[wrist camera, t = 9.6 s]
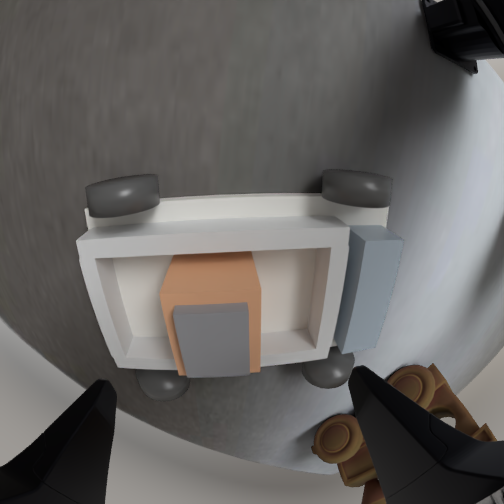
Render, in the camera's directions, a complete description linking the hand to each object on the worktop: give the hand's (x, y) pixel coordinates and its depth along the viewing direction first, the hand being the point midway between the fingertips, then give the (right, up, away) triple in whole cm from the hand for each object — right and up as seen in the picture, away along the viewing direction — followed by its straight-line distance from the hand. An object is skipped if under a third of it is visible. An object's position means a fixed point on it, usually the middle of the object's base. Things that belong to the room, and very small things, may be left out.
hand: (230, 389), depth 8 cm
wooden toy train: (+18, -16, +21) cm, 32 cm away
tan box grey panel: (-2, +2, +10) cm, 10 cm away
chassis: (0, +3, +11) cm, 11 cm away
